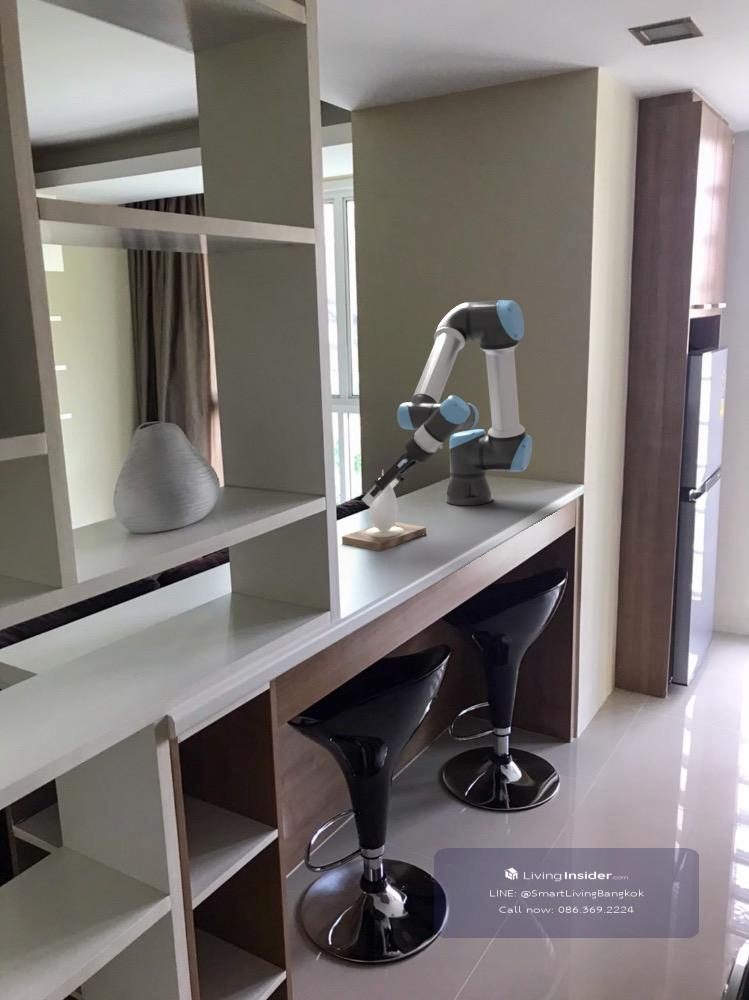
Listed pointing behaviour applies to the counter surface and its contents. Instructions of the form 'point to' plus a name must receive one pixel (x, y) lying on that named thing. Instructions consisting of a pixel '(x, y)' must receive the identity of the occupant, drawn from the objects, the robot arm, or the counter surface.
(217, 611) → the counter surface
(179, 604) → the counter surface
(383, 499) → the white pear with stem
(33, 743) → the counter surface
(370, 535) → the walnut board
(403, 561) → the counter surface
